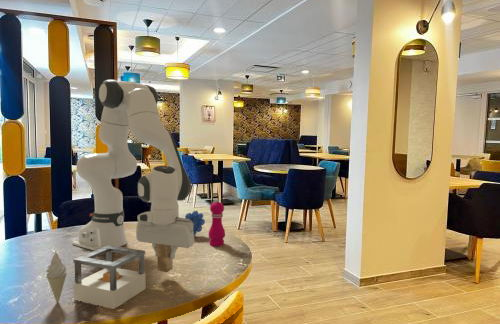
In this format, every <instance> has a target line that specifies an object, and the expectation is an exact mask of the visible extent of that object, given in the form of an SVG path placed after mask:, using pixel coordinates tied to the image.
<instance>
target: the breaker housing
mask: <svg viewBox="0 0 500 324" xmlns="http://www.w3.org/2000/svg"><path fill="white" fill-rule="evenodd" d="M116 271H117V272H119V279H118V280H117V289H116V290H115V291H111V290H110V282H105V281H103V274H104V273H106V272H110V269H105V268H102V269H101V270H99V271H97V272H95V273H92V274H90V275H88V276H86V277H84V278H82V282H81V283H79V284H77V283H75V282H74V283H73V298H74V299H75V300H74V299H73V300H74V301H76V300H78V302H80V301H82V302H81V303H84V304H89V303H90V305H95V306H98V305H99V307H102V306H103V308H106V309H111V310H116V309H117V308H118V307H119V306H121V305H123V304H125V303H126V302H127V301H129V300H130V299H132V298H134V297H135V296H136V295H138V294H140V293H141V292H143V291H145V290H146V272H144V274H139V271H135V270H130V269H125V268H124V269H123V268H120V267H118V268H116Z"/></svg>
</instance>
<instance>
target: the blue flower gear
mask: <svg viewBox="0 0 500 324" xmlns="http://www.w3.org/2000/svg"><path fill="white" fill-rule="evenodd" d="M184 217H185V218H188V219H189V220H191V221H192V222H193V233H194V237H195V236H196V235H197V233H200V232H201V231H203V227H202V226H204V225H205V224H206V223H205V219H204V214H203V213H202V212H200V213H199V212H198V210H193V211H192V213H191V212H188V213H186V214H185V216H184ZM189 222H190V221H189Z"/></svg>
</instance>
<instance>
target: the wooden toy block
mask: <svg viewBox="0 0 500 324" xmlns="http://www.w3.org/2000/svg"><path fill="white" fill-rule="evenodd" d="M172 250H173V249H171V246H168V245H163V244H157V257H156V258H157V259H156V260H157V262H156V263H157V271H158V272H164V273H168V272H170V271H171V270H173V267H174V266H173V265H174V264H173V263H174V262H173V259H169V258H168V257H169V256H168V254H169V253H170V252H171V251H172Z"/></svg>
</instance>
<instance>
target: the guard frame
mask: <svg viewBox="0 0 500 324" xmlns="http://www.w3.org/2000/svg"><path fill="white" fill-rule="evenodd" d="M113 253H116V254H120V255H121V254H123V255H124V256H122V257H120V258H119V259H116V260H113V257H112V254H113ZM102 255H105V260H102V259H96V258H98V257H100V256H102ZM145 255H146V250H142V249H138V248H137V249H136V248H130V247H123V246H120V247H117V246H110V245H108V246H105V247H103V248H100V249H98V250H92V251H91V252H88V253H86V254H83V255H81V256H78V257H76V258H73V259H72V260H73V264H74V283H77V284H79V283H81V282H82V279H83V278H82V265H83V266H89V267H95V268H101V269H110V290H111V291H115V290H116V289H117V275H116V268H120V267H122V266H124V265H126V264H128V263H130V262H132V261H134V260H136V259H138V272H139V274H144V273H145ZM112 260H113V261H112Z"/></svg>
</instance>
